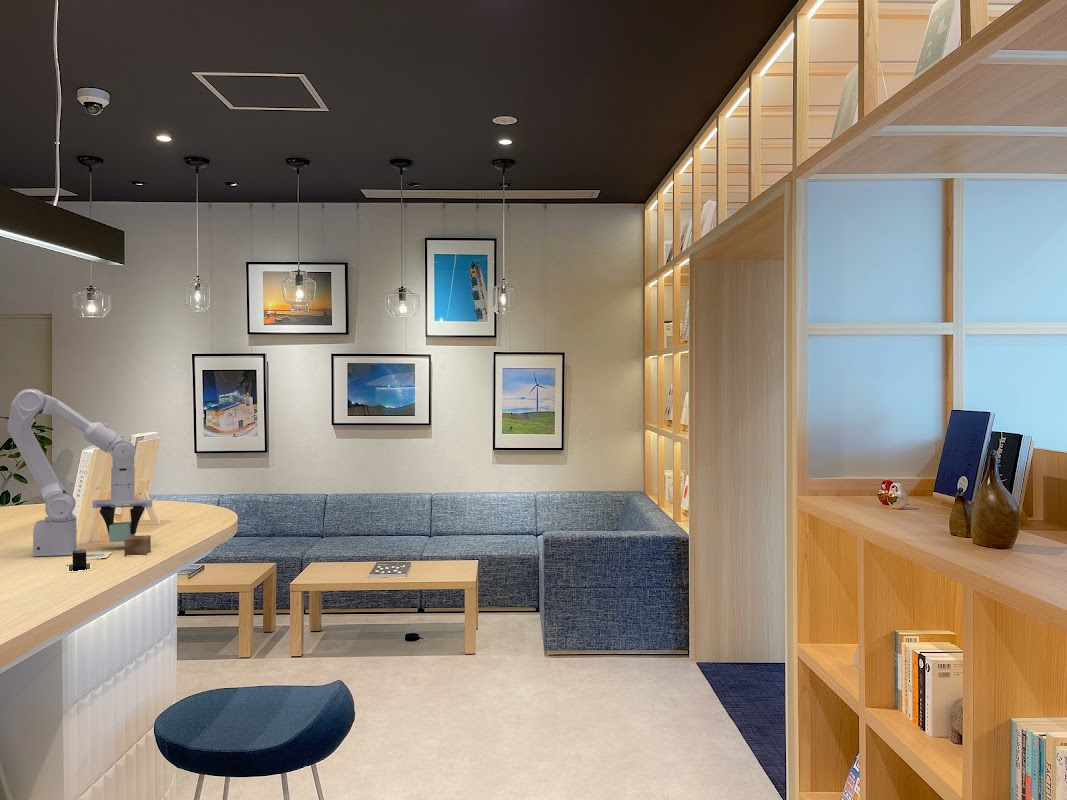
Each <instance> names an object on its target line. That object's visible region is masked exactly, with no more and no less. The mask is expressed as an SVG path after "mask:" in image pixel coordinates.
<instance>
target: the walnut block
mask: <svg viewBox="0 0 1067 800" xmlns="http://www.w3.org/2000/svg"><path fill="white" fill-rule="evenodd" d="M151 537H152V536H151V535H146V534H145V535H135V536H130V537H128V538H126V539H125V540H124V542H123V543H124V546H123V547H124V557H128V556H127V555H145V556H147V555H148V554H150V553H149V552H150V551H151V552H152V550H151V549H152V547H151V544H152V543H151V542H152V540H151V539H152V538H151ZM147 553H148V554H147ZM146 554H147V555H146Z"/></svg>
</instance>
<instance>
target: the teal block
mask: <svg viewBox="0 0 1067 800" xmlns="http://www.w3.org/2000/svg"><path fill="white" fill-rule="evenodd" d="M130 536H136V533H135V534H131V521H121V522H120V521H117V522H115V521H114V523H113V524H111V525H109V539H108V540H109V541H108V543H122V542H123V543H124V540H125V539H126V538H128V537H130Z"/></svg>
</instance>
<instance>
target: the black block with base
mask: <svg viewBox="0 0 1067 800" xmlns="http://www.w3.org/2000/svg"><path fill="white" fill-rule="evenodd" d="M86 552H87V549H82V550H74V551H73V554H72V564H68V565H69V571H72V570H73V571H78V570H85V569H86V570H87V569H90V563H91V562H87V560H86Z"/></svg>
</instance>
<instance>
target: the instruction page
mask: <svg viewBox="0 0 1067 800" xmlns="http://www.w3.org/2000/svg"><path fill="white" fill-rule="evenodd" d="M104 551H105V552H102V551H101V550H100V551H86V561H93V560H92V559H97V558H100V559H99V560H102V559H101V558H102V557H105V556H107V555H105V554H104V553H109V552H106V551H107V550H104ZM104 555H105V556H104Z"/></svg>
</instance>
